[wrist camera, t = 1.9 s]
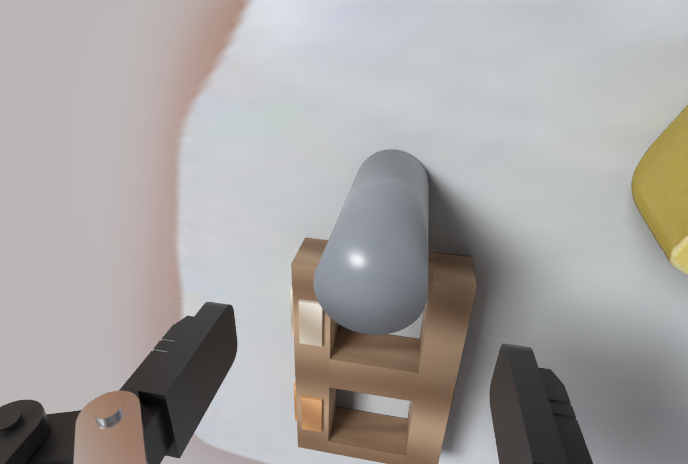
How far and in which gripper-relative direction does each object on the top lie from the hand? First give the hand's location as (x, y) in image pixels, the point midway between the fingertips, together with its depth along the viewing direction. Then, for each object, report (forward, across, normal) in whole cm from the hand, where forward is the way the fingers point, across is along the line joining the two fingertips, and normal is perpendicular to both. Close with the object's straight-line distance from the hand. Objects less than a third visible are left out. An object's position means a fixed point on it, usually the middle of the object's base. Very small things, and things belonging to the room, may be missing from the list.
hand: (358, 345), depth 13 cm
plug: (+12, 0, 0) cm, 13 cm away
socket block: (+13, 0, +12) cm, 17 cm away
